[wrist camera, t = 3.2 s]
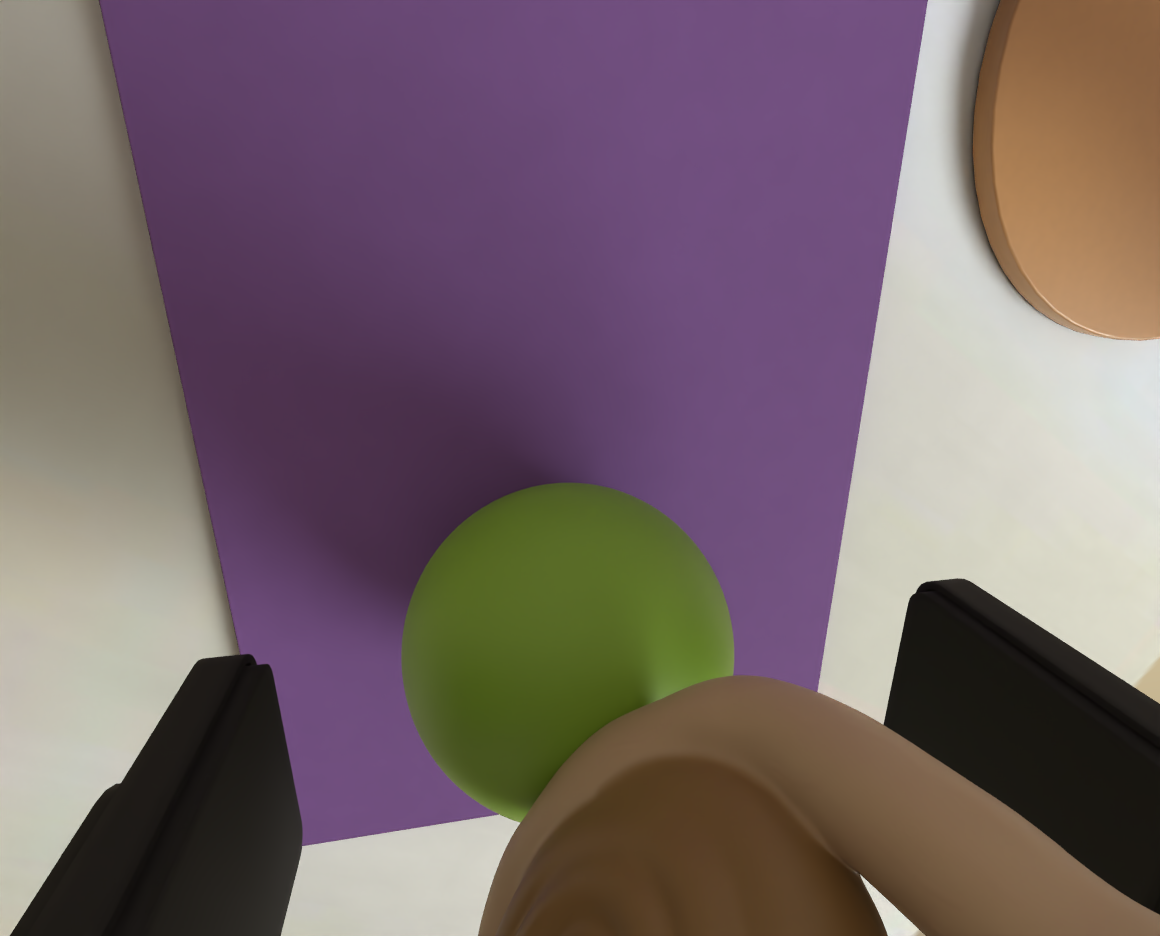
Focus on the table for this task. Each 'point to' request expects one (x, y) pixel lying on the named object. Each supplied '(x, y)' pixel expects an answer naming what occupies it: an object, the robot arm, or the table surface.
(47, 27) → the table surface
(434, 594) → the snail figurine
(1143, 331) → the coaster
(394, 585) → the cloth
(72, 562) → the table surface
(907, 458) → the table surface
